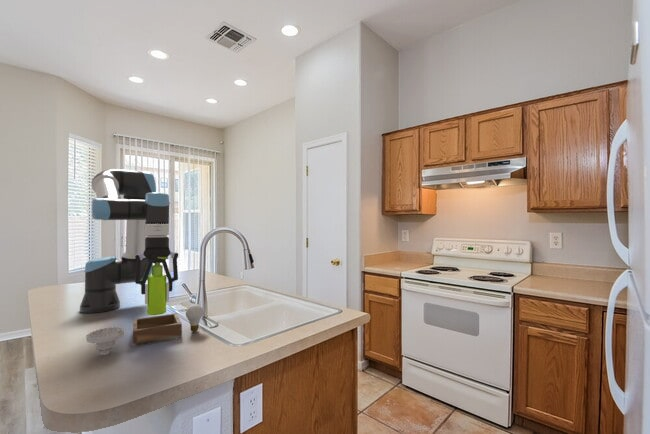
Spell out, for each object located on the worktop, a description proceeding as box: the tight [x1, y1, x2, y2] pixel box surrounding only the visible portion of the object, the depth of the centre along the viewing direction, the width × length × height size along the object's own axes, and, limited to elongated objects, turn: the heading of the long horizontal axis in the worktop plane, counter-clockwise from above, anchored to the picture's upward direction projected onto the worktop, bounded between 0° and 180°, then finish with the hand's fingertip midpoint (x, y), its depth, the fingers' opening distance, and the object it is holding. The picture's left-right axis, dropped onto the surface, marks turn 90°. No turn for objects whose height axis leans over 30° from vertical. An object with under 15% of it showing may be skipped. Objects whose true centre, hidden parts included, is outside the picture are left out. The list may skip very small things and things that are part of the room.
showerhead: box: [86, 326, 125, 356], centre depth 96 cm, size 9×7×10 cm
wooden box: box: [132, 312, 183, 348], centre depth 111 cm, size 14×14×5 cm
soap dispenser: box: [146, 256, 169, 316], centre depth 111 cm, size 6×7×20 cm
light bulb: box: [185, 303, 204, 333], centre depth 114 cm, size 6×6×10 cm
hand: (156, 301), depth 111 cm, fingers closed on soap dispenser, 6 cm apart
